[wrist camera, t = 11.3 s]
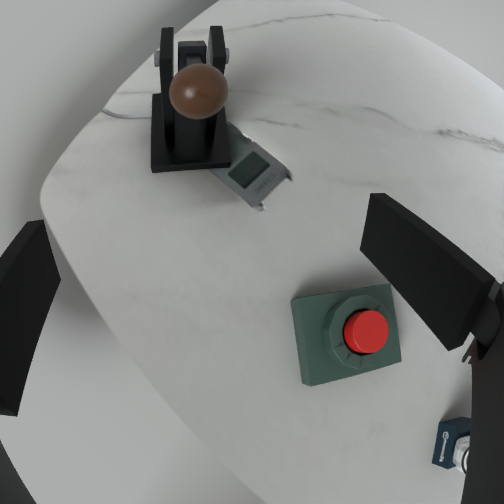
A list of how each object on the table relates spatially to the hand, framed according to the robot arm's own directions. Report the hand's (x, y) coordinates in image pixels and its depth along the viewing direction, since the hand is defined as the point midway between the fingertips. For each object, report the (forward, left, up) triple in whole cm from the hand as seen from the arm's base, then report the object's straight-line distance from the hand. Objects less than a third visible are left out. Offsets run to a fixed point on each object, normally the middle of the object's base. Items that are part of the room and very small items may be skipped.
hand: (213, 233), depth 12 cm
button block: (+13, -6, -18) cm, 23 cm away
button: (+13, -6, -14) cm, 20 cm away
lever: (0, +12, -5) cm, 13 cm away
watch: (+26, -23, -18) cm, 39 cm away
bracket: (0, +17, -18) cm, 25 cm away
